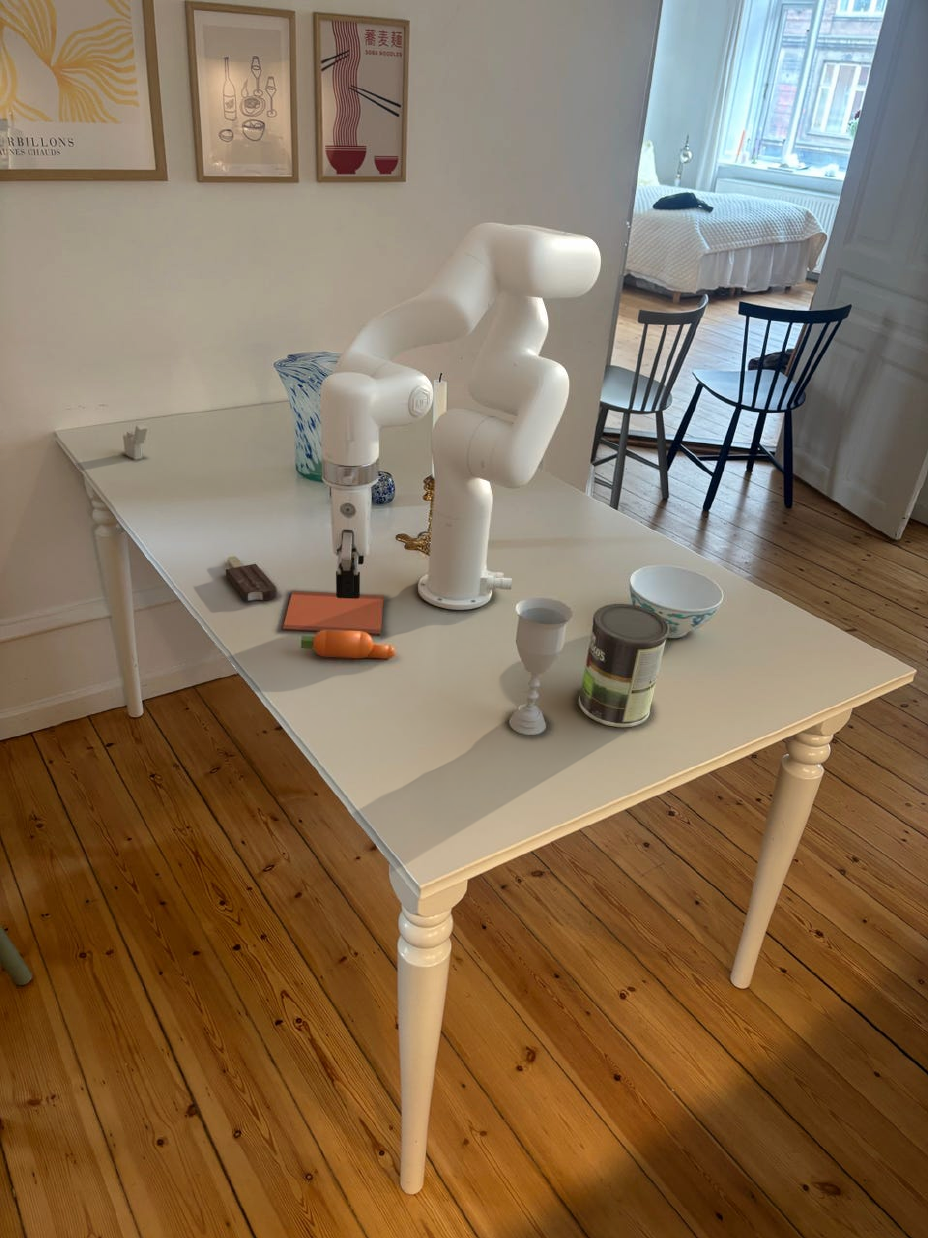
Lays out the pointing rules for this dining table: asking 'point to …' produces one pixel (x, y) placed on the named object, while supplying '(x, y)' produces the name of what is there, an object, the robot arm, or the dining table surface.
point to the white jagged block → (134, 442)
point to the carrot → (346, 645)
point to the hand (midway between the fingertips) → (350, 579)
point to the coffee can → (622, 664)
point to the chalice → (537, 653)
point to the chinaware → (676, 596)
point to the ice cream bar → (250, 581)
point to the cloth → (333, 613)
